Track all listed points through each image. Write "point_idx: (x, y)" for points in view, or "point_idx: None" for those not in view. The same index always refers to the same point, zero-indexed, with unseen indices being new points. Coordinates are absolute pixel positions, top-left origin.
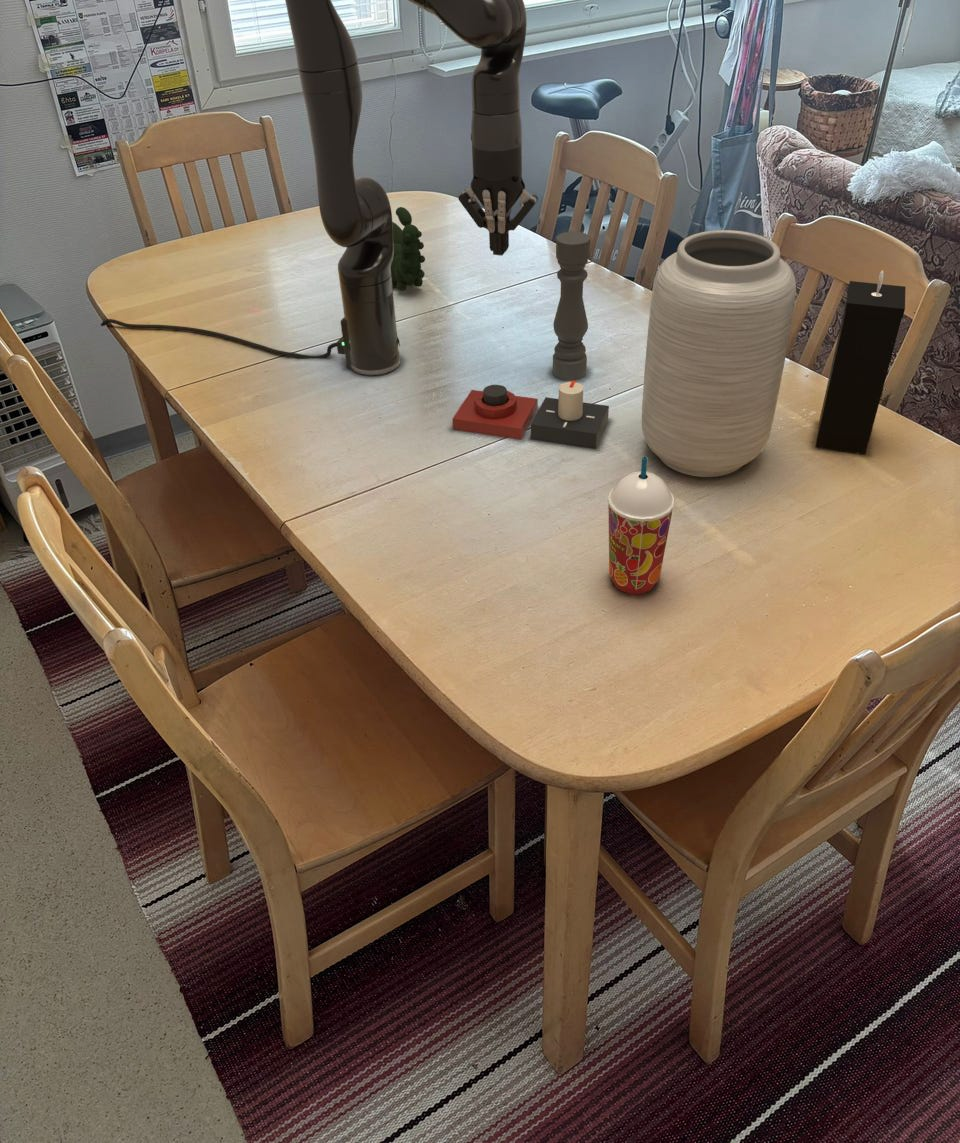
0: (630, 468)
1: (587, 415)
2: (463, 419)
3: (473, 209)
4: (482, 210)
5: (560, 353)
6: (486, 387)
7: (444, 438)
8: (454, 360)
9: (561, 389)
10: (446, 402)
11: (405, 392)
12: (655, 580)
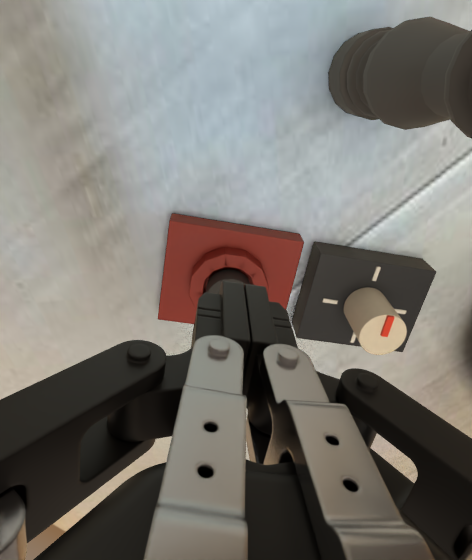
0: (434, 371)
1: (394, 305)
2: (177, 320)
3: (52, 518)
4: (109, 411)
5: (362, 109)
6: (210, 292)
7: (152, 331)
8: (85, 27)
9: (364, 342)
10: (123, 223)
11: (28, 193)
12: None
